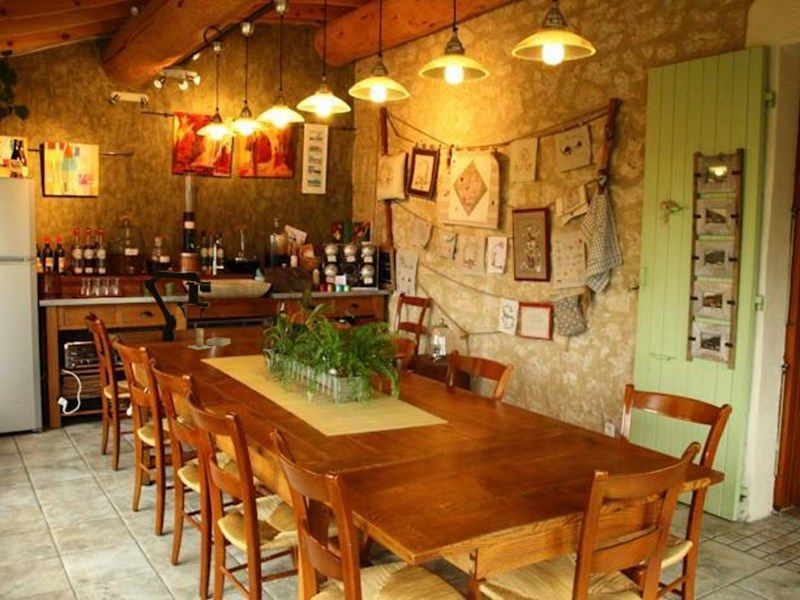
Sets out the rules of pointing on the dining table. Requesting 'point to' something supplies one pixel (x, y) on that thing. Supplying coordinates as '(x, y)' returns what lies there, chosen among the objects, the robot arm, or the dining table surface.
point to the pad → (199, 347)
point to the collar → (218, 341)
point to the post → (199, 337)
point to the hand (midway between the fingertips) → (193, 318)
